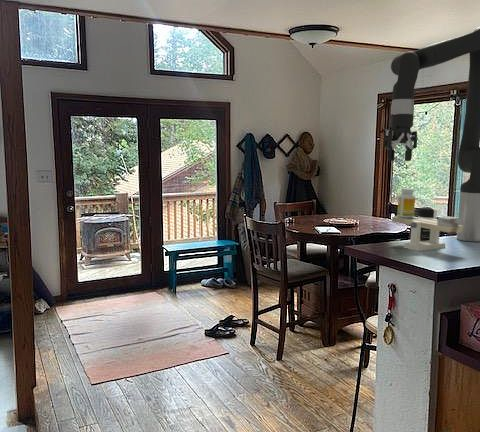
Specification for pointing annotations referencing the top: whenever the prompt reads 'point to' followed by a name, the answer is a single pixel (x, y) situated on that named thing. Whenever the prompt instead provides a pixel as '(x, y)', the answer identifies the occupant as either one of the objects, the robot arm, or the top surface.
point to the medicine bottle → (426, 214)
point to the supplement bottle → (406, 203)
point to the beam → (433, 223)
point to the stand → (423, 245)
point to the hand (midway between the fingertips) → (399, 160)
